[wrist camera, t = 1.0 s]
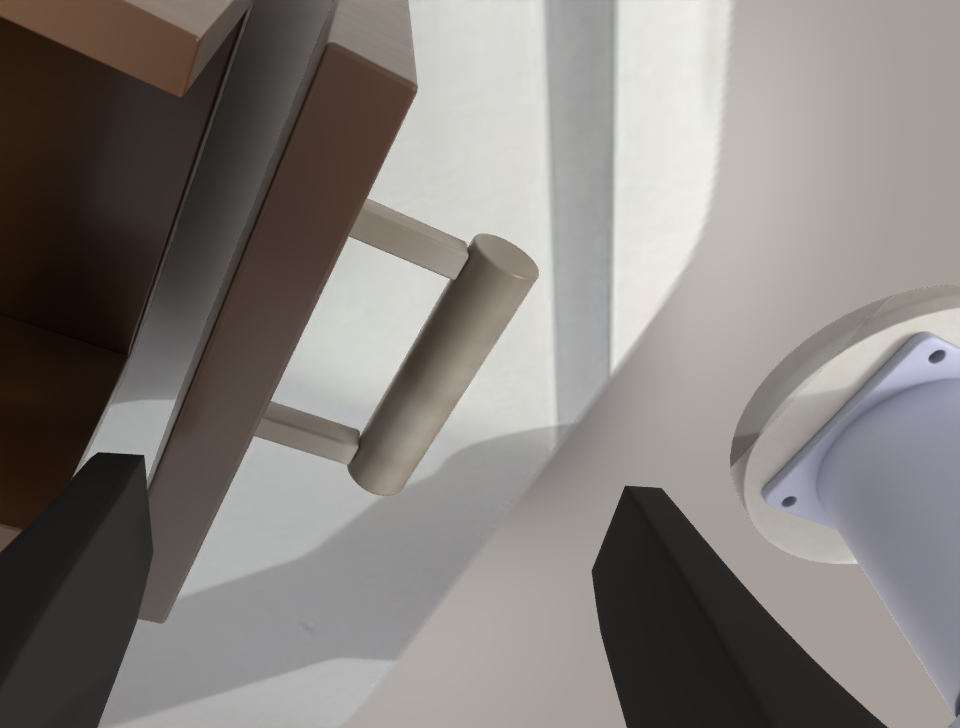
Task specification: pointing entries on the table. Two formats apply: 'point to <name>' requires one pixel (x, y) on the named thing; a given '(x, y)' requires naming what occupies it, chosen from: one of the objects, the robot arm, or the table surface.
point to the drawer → (252, 270)
